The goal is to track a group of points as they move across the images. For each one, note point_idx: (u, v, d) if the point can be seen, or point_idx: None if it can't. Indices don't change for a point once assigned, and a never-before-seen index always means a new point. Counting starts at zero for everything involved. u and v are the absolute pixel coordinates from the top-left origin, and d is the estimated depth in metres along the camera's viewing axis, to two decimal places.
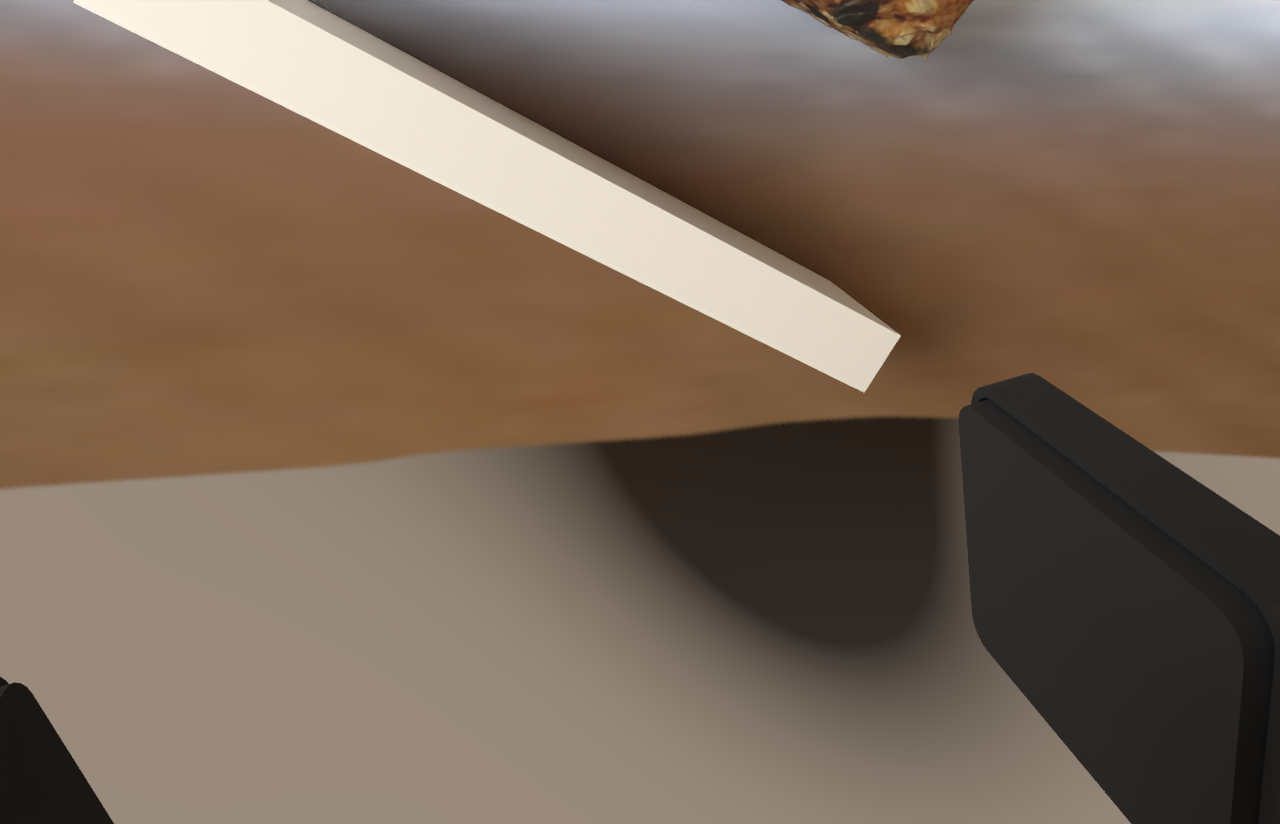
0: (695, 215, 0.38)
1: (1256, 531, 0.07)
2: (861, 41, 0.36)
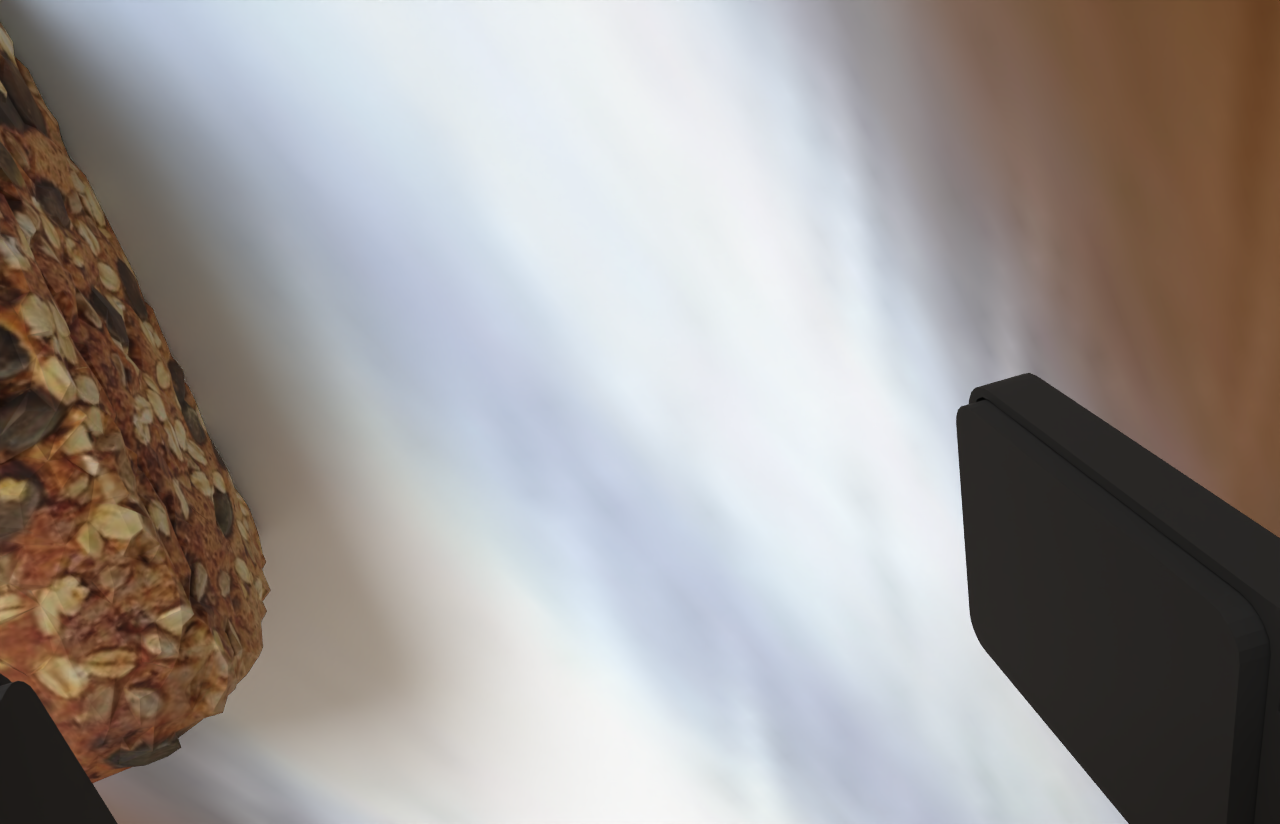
0: None
1: (1252, 531, 0.07)
2: None
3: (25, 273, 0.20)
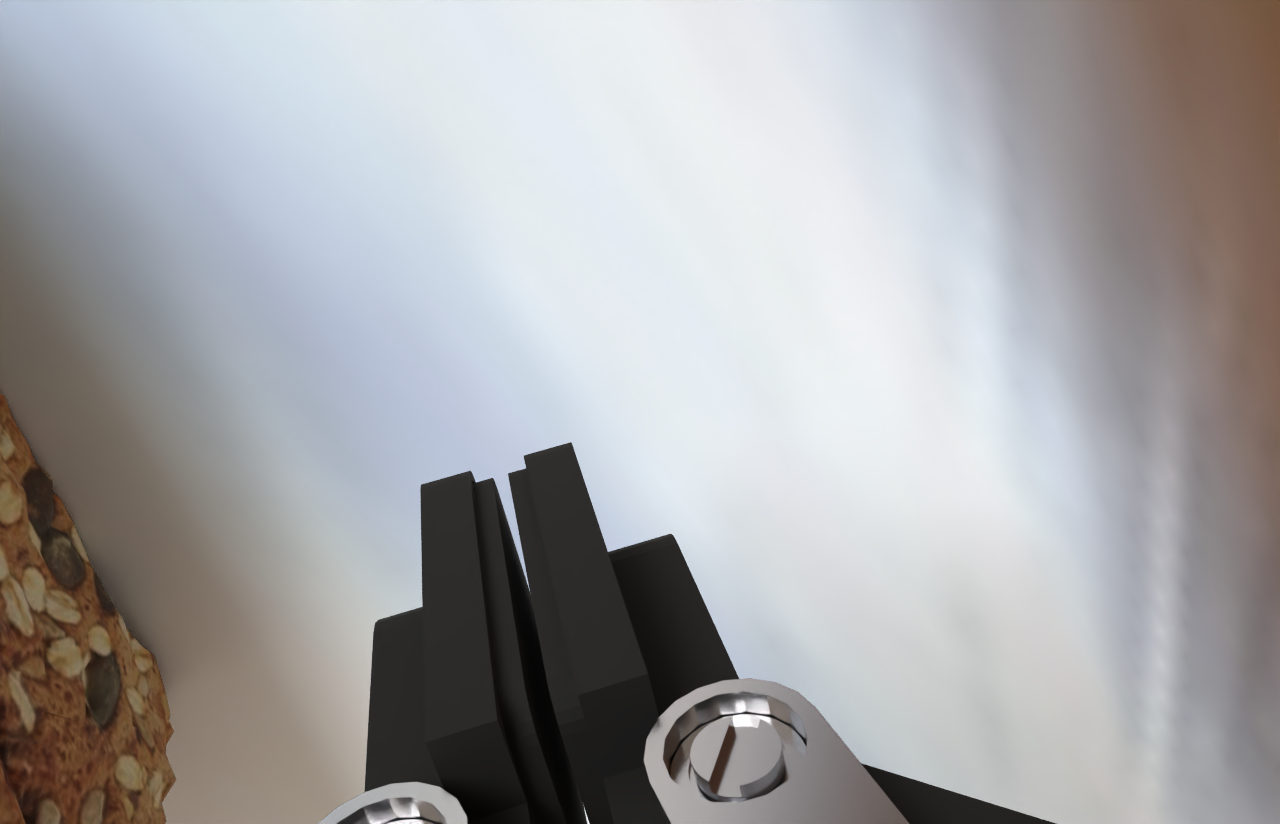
0: None
1: (616, 610, 0.08)
2: None
3: None
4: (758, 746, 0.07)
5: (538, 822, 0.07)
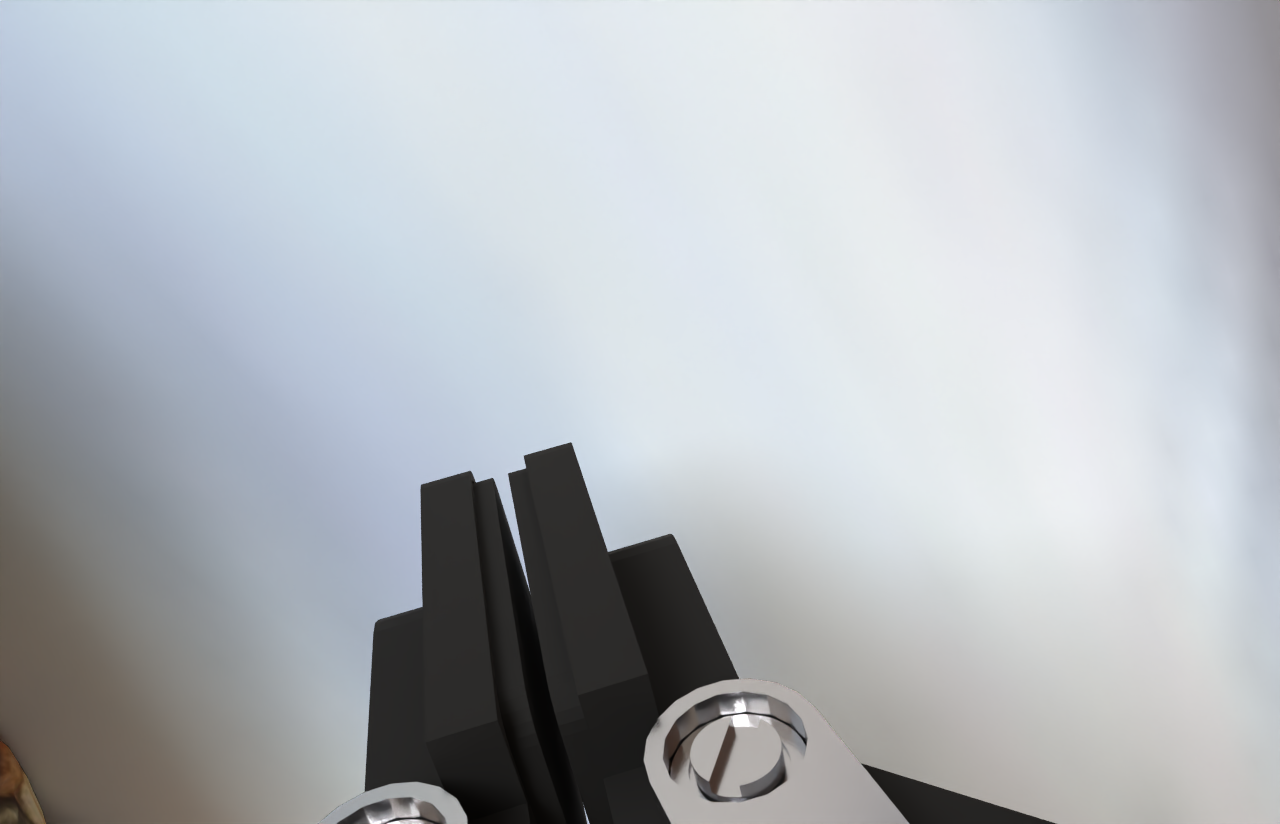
0: None
1: (615, 611, 0.08)
2: None
3: None
4: (758, 746, 0.07)
5: (538, 822, 0.07)
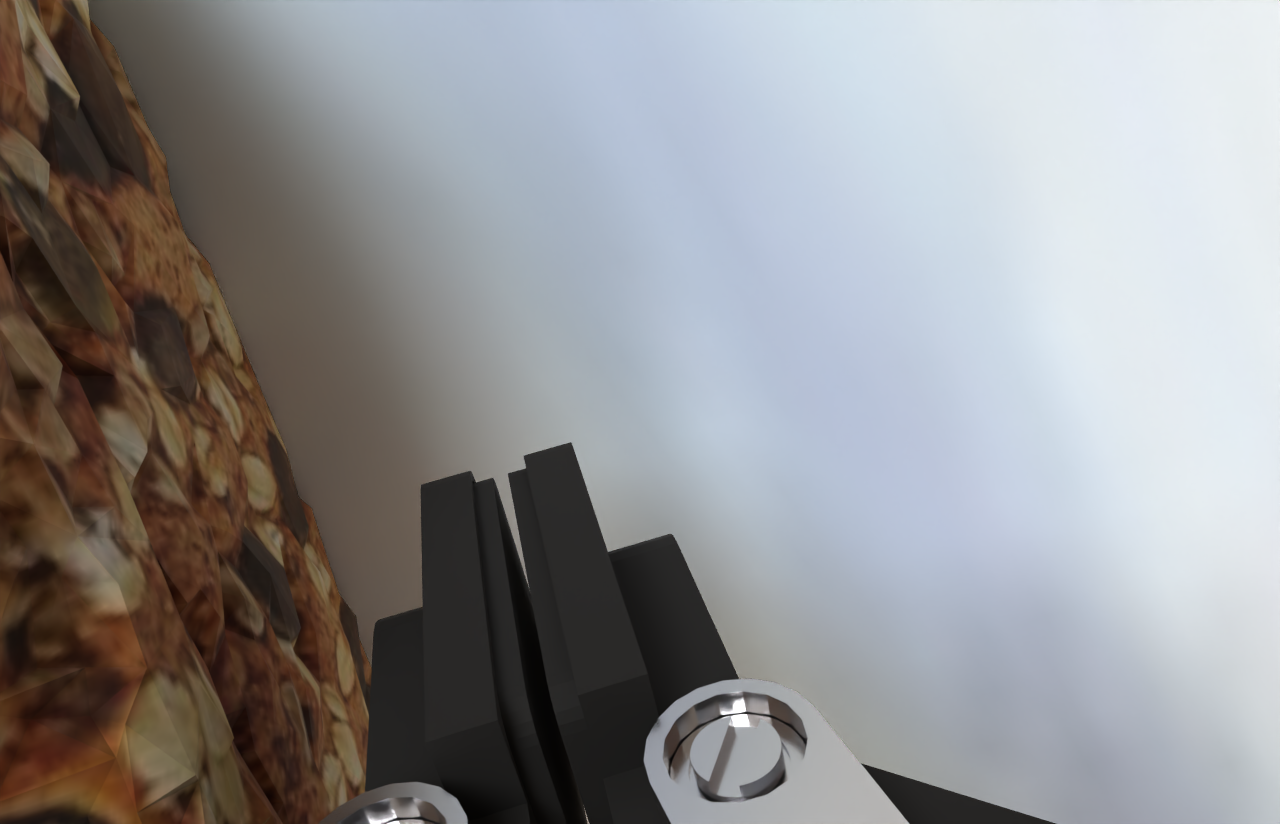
0: None
1: (615, 610, 0.08)
2: None
3: (137, 617, 0.07)
4: (758, 746, 0.07)
5: (538, 822, 0.07)
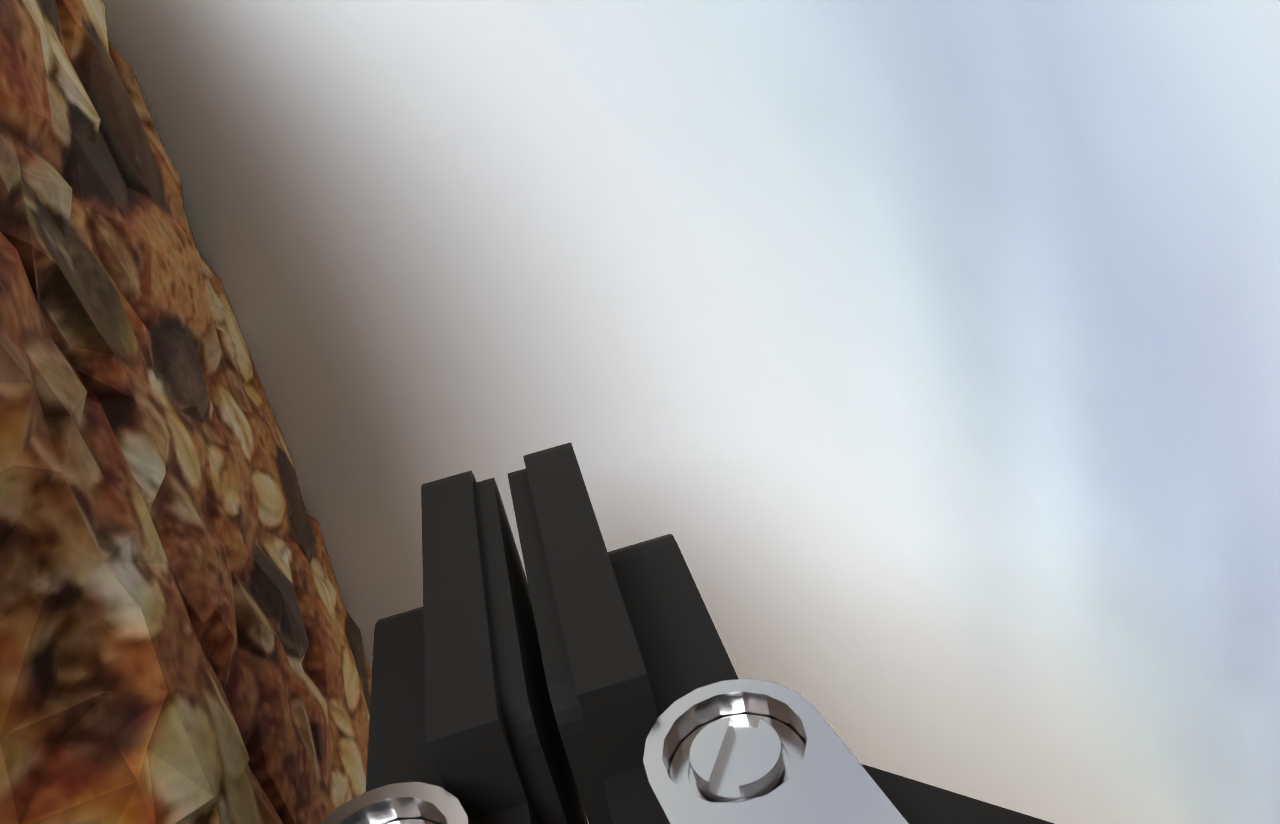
0: None
1: (615, 610, 0.08)
2: None
3: (157, 641, 0.07)
4: (758, 746, 0.07)
5: (539, 822, 0.07)
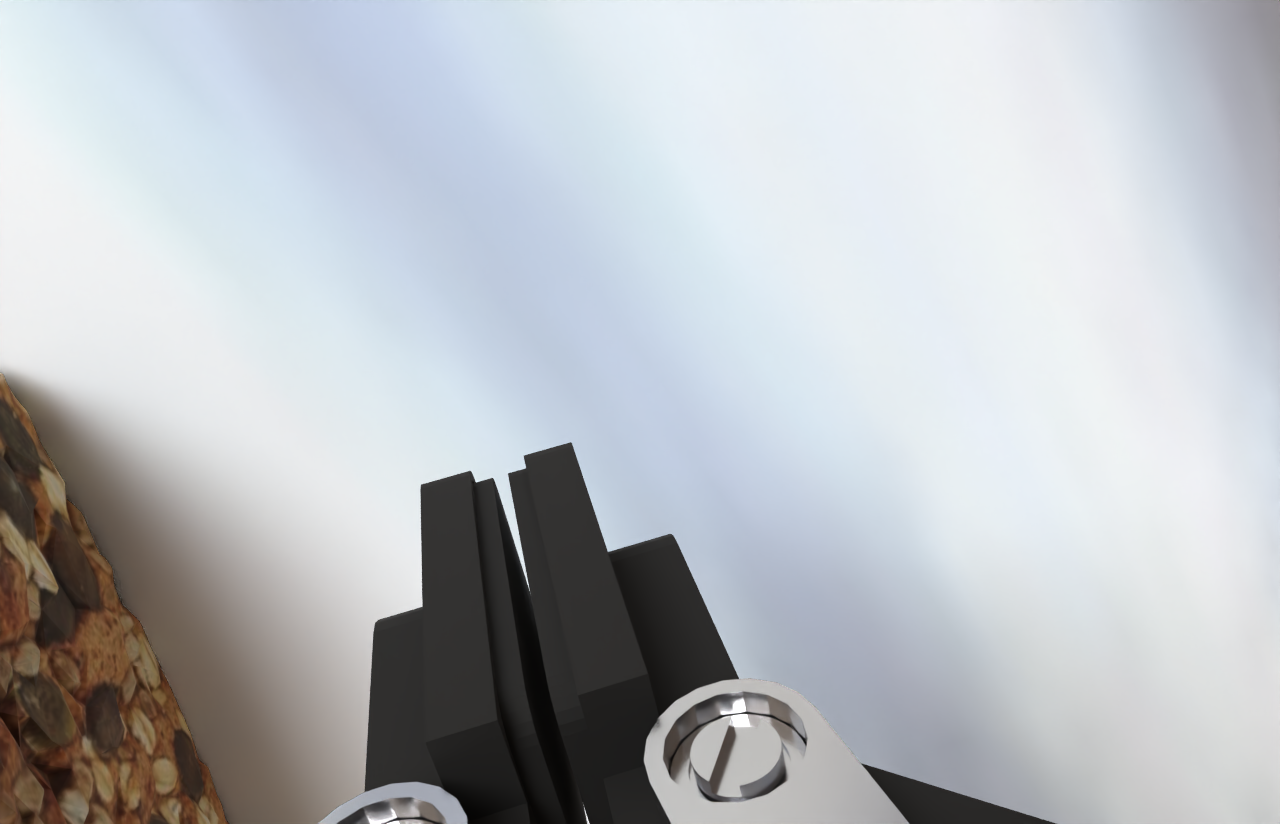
0: None
1: (615, 611, 0.08)
2: None
3: None
4: (758, 747, 0.07)
5: (538, 822, 0.07)
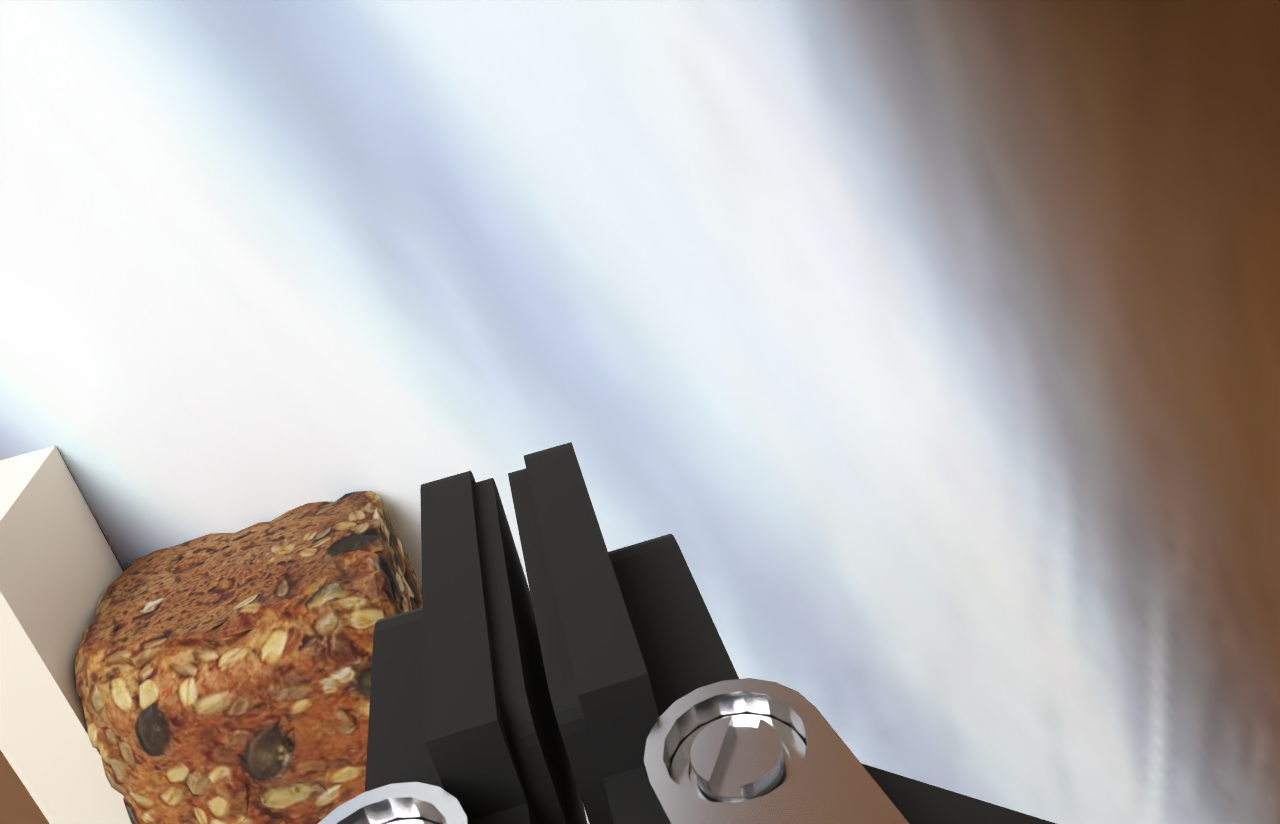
0: None
1: (615, 610, 0.08)
2: None
3: None
4: (758, 746, 0.07)
5: (538, 822, 0.07)
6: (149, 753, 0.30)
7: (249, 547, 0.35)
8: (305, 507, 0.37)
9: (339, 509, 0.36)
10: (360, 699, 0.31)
